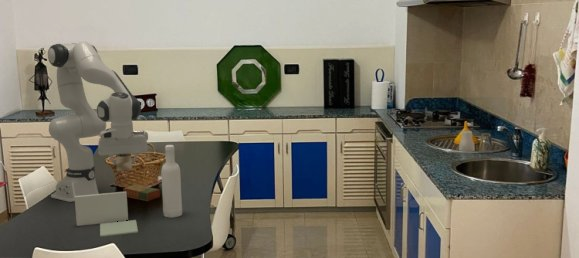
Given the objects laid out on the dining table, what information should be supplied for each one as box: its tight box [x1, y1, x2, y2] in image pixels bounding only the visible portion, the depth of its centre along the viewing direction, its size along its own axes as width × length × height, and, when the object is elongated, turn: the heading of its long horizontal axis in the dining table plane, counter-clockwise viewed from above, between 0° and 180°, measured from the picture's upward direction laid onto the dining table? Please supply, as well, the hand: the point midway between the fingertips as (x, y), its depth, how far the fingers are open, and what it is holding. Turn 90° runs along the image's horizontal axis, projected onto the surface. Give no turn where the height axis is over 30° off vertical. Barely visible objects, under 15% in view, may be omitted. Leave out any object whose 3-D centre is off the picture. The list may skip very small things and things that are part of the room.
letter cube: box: [115, 153, 133, 172], centre depth 245 cm, size 6×6×6 cm
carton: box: [123, 184, 161, 202], centre depth 275 cm, size 8×16×4 cm, turn 57°
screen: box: [74, 191, 129, 227], centre depth 238 cm, size 20×2×12 cm, turn 108°
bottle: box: [160, 144, 183, 219], centre depth 245 cm, size 8×8×30 cm
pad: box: [99, 219, 139, 238], centre depth 231 cm, size 14×14×1 cm
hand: (124, 164), depth 246 cm, fingers closed on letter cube, 6 cm apart
